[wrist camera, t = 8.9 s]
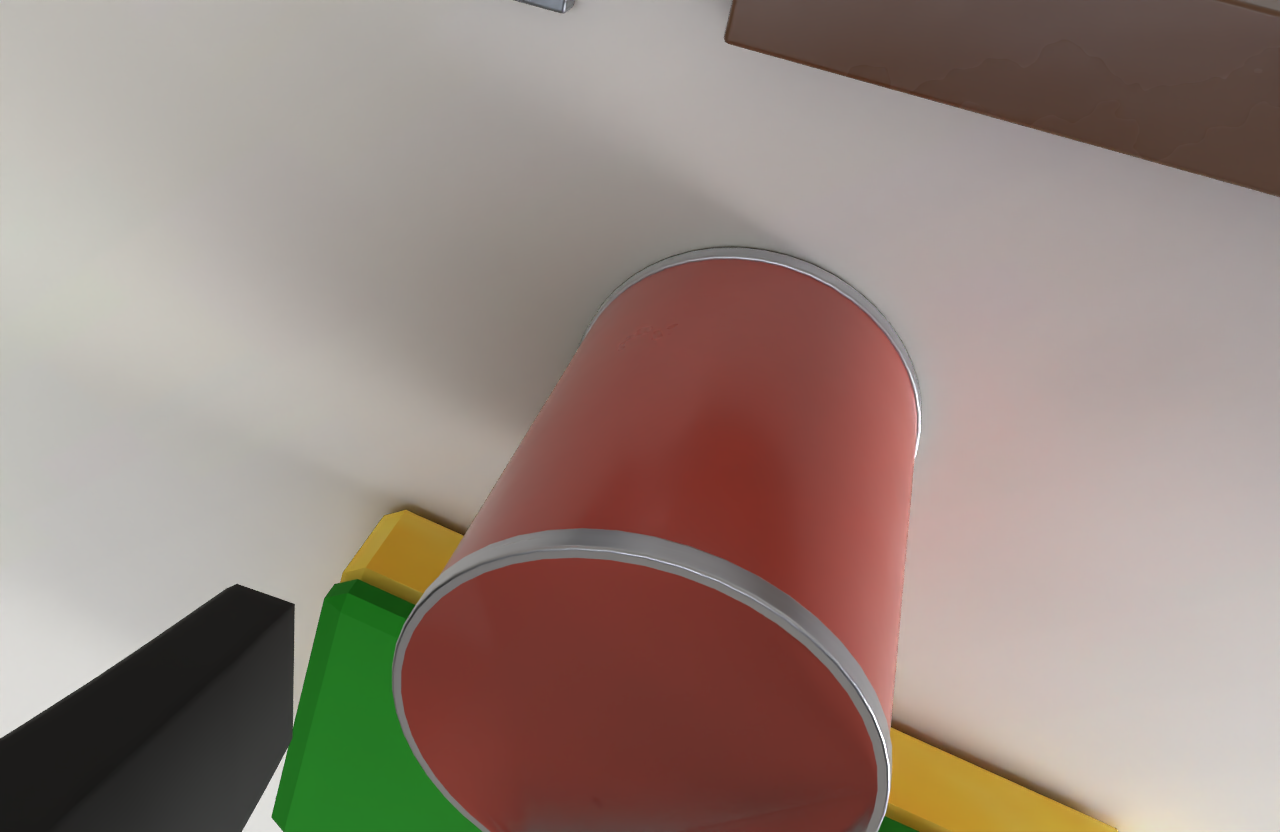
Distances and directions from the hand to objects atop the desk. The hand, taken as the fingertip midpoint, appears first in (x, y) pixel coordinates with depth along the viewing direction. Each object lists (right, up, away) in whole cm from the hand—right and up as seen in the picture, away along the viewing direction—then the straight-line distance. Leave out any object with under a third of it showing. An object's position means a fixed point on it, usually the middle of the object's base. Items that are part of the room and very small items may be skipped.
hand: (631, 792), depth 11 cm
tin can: (+2, +4, +6) cm, 7 cm away
